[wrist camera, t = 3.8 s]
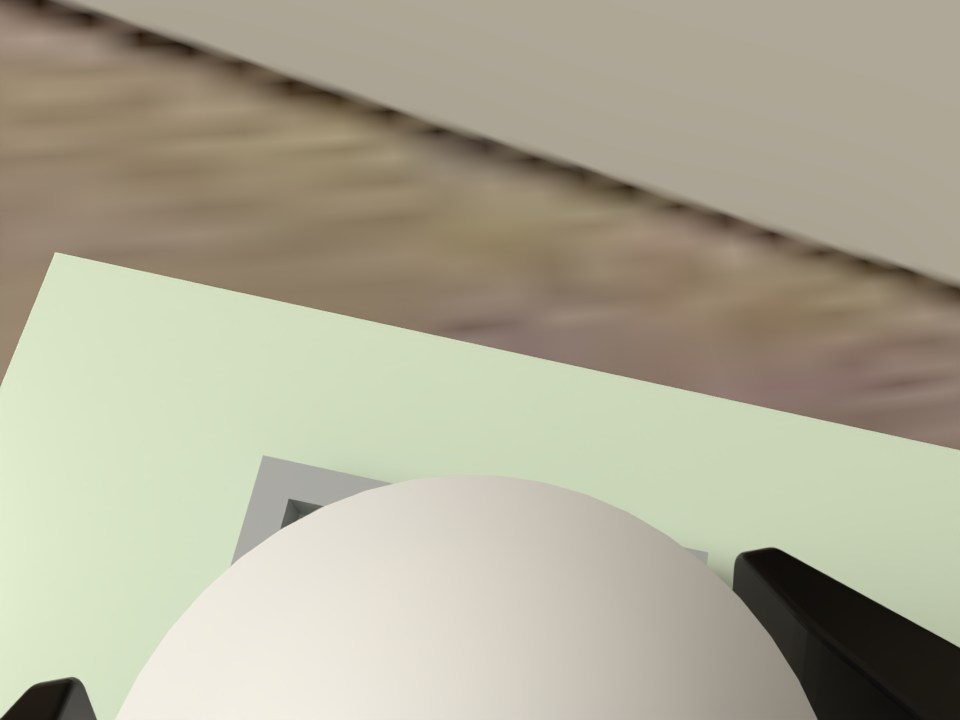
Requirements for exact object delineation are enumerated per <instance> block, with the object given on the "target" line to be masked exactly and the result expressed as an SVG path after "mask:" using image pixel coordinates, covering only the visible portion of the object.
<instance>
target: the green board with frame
mask: <svg viewBox="0 0 960 720" xmlns="http://www.w3.org/2000/svg"><path fill="white" fill-rule="evenodd" d="M450 475H484V476H505V477H511V478H518V479H524V480H531V481H538V482H544V483H548V484H551V485H555V486H558V487H562V488H565V489H569V490H572V491H576V492H579V493H583V494H586V495H589V496H591V497H594V498H596V499H598V500H601V501H603V502H605V503H607V504H610V505H612V506H614V507H617V508H619V509H621V510H624V511H626V512H628V513H630V514H632V515H634V516H635V517H637V518H639V519H641V520H642V521H644V522H646V523H647V524H649V525H651V526H652V527H654V528H656V529H657V530H659V531H661V532H663V533H664V534H666V535H668V536H669V537H671V538H672V539H673V540H674V541H676V542H677V543H678V544H680V545H681V546H682V547H684V548H685V549H686V550H688V551H689V552H690V553H691V554H693V555H694V556H695V557H697V558H698V559H699V560H701V561H702V562H703V563H704V564H706V565H707V566H708V567H709V568H710V569H711V570H712V571H713V572H714V573H715V574H716V575H717V576H718V577H719V578H720V579H721V580H722V581H723V582H724V583H725V584H726V585H727V586H728V587H729V588H730V589H731V590H732V588H733V572H734V563H735V559H736V557H737V556H738V555H739V554H740V553H742V552H745V551H750V550H756V549H761V548H767V547H775V548H778V549H780V550H782V551H784V552H786V553H788V554H790V555H792V556H793V557H795V558H797V559H799V560H801V561H803V562H804V563H806V564H808V565H810V566H812V567H814V568H815V569H817V570H819V571H821V572H823V573H825V574H826V575H828V576H830V577H832V578H834V579H835V580H837V581H839V582H841V583H843V584H845V585H846V586H848V587H850V588H852V589H854V590H856V591H857V592H859V593H861V594H863V595H865V596H867V597H868V598H870V599H872V600H874V601H876V602H878V603H879V604H881V605H883V606H885V607H887V608H889V609H890V610H892V611H894V612H896V613H898V614H900V615H901V616H903V617H905V618H907V619H909V620H911V621H912V622H914V623H916V624H918V625H920V626H922V627H923V628H925V629H927V630H929V631H931V632H933V633H934V634H936V635H938V636H940V637H942V638H944V639H945V640H947V641H949V642H951V643H953V644H955V645H956V646H958V647H960V450H955V449H951V448H946V447H942V446H937V445H933V444H928V443H924V442H919V441H914V440H910V439H905V438H901V437H896V436H892V435H887V434H882V433H878V432H873V431H869V430H864V429H860V428H855V427H851V426H846V425H841V424H837V423H832V422H828V421H823V420H819V419H814V418H809V417H805V416H800V415H796V414H791V413H787V412H782V411H778V410H773V409H768V408H764V407H759V406H755V405H750V404H746V403H741V402H736V401H732V400H727V399H723V398H718V397H714V396H709V395H705V394H700V393H695V392H691V391H686V390H682V389H677V388H673V387H668V386H663V385H659V384H654V383H650V382H645V381H641V380H636V379H632V378H627V377H622V376H618V375H613V374H609V373H604V372H600V371H595V370H590V369H586V368H581V367H577V366H572V365H568V364H563V363H559V362H554V361H549V360H545V359H540V358H536V357H531V356H527V355H522V354H517V353H513V352H508V351H504V350H499V349H495V348H490V347H485V346H481V345H476V344H472V343H467V342H463V341H458V340H454V339H449V338H444V337H440V336H435V335H431V334H426V333H422V332H417V331H412V330H408V329H403V328H399V327H394V326H390V325H385V324H381V323H376V322H371V321H367V320H362V319H358V318H353V317H349V316H344V315H339V314H335V313H330V312H326V311H321V310H317V309H312V308H308V307H303V306H298V305H294V304H289V303H285V302H280V301H276V300H271V299H266V298H262V297H257V296H253V295H248V294H244V293H239V292H235V291H230V290H225V289H221V288H216V287H212V286H207V285H203V284H198V283H193V282H189V281H184V280H180V279H175V278H171V277H166V276H162V275H157V274H152V273H148V272H143V271H139V270H134V269H130V268H125V267H120V266H116V265H111V264H107V263H102V262H98V261H93V260H89V259H84V258H79V257H75V256H70V255H66V254H61V253H57V252H55V254H54V257H53V259H52V262H51V264H50V267H49V269H48V272H47V274H46V277H45V279H44V281H43V284H42V286H41V289H40V291H39V294H38V296H37V299H36V301H35V304H34V306H33V309H32V311H31V313H30V316H29V318H28V321H27V323H26V326H25V328H24V331H23V333H22V336H21V338H20V341H19V343H18V345H17V348H16V350H15V353H14V355H13V358H12V360H11V363H10V365H9V368H8V370H7V373H6V375H5V377H4V380H3V382H2V385H1V387H0V718H1V717H2V716H3V715H4V714H5V713H6V712H7V711H8V710H9V709H10V707H11V706H12V705H13V704H14V703H15V702H16V701H17V700H18V699H19V698H20V697H21V696H22V695H23V694H24V692H25V691H26V690H28V689H29V688H30V687H31V686H33V685H34V684H37V683H40V682H45V681H50V680H56V679H61V678H66V677H76V678H78V679H80V681H81V682H82V683H83V685H84V687H85V689H86V692H87V694H88V697H89V700H90V702H91V705H92V707H93V710H94V713H95V715H96V718H97V720H115V719H116V717H117V715H118V713H119V711H120V709H121V707H122V705H123V704H124V702H125V700H126V698H127V696H128V694H129V692H130V690H131V688H132V686H133V684H134V683H135V681H136V679H137V677H138V675H139V674H140V672H141V671H142V669H143V668H144V666H145V665H146V663H147V662H148V660H149V659H150V657H151V656H152V655H153V653H154V652H155V650H156V649H157V647H158V646H159V644H160V643H161V641H162V640H163V638H164V637H165V635H166V634H167V633H168V631H169V630H170V629H171V628H172V626H173V625H174V624H175V623H176V622H177V621H178V620H179V618H180V617H181V616H182V615H183V614H184V613H185V612H186V610H187V609H188V608H189V607H190V606H191V605H192V604H193V602H194V601H195V600H196V599H197V598H198V597H199V595H200V594H201V593H202V592H203V591H204V590H205V589H206V588H207V587H209V586H210V585H211V584H212V583H213V582H214V581H215V580H216V579H217V578H219V577H220V576H221V575H222V574H223V573H224V572H225V571H226V570H227V569H228V568H230V567H231V566H232V565H233V564H234V563H235V562H236V561H237V560H238V559H240V558H241V557H242V556H244V555H245V554H246V553H248V552H249V551H251V550H252V549H254V548H255V547H256V546H258V545H259V544H261V543H262V542H263V541H265V540H266V539H268V538H269V537H271V536H272V535H273V534H275V533H276V532H278V531H279V530H281V529H282V528H284V527H286V526H288V525H290V524H292V523H294V522H296V521H297V520H299V519H301V518H303V517H305V516H307V515H309V514H311V513H312V512H314V511H316V510H318V509H320V508H322V507H324V506H327V505H329V504H332V503H335V502H337V501H340V500H342V499H345V498H348V497H350V496H353V495H356V494H358V493H361V492H363V491H366V490H370V489H374V488H378V487H383V486H387V485H391V484H395V483H399V482H403V481H407V480H413V479H422V478H431V477H441V476H450Z"/></svg>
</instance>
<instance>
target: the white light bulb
mask: <svg viewBox="0 0 960 720" xmlns="http://www.w3.org/2000/svg"><path fill="white" fill-rule="evenodd" d="M115 720H817V717H816V715H815V713H814V711H813V709H812V707H811V705H810V703H809V701H808V699H807V697H806V695H805V693H804V690H803V688H802V686H801V684H800V682H799V680H798V678H797V677H796V675H795V674H794V672H793V670H792V669H791V667H790V666H789V664H788V663H787V661H786V659H785V658H784V656H783V655H782V653H781V651H780V650H779V648H778V647H777V645H776V643H775V642H774V640H773V639H772V637H771V636H770V635H769V633H768V632H767V631H766V630H765V628H764V627H763V626H762V625H761V623H760V622H759V621H758V620H757V618H756V617H755V616H754V615H753V613H752V612H751V611H750V610H749V608H748V607H747V606H746V605H745V603H744V602H743V601H742V600H741V599H740V598H739V597H738V596H737V595H736V594H735V593H734V592H733V591H732V590H731V589H730V588H729V587H728V586H727V585H726V584H725V583H724V582H723V581H722V580H721V579H720V578H719V577H718V576H717V575H716V574H715V573H714V572H713V571H712V570H711V569H710V568H709V567H708V566H707V565H706V564H704V563H703V562H702V561H701V560H699V559H698V558H697V557H695V556H694V555H693V554H691V553H690V552H689V551H688V550H686V549H685V548H684V547H682V546H681V545H680V544H678V543H677V542H676V541H674V540H673V539H672V538H671V537H669V536H668V535H666V534H664V533H663V532H661V531H659V530H657V529H656V528H654V527H652V526H651V525H649V524H647V523H646V522H644V521H642V520H641V519H639V518H637V517H635V516H634V515H632V514H630V513H628V512H626V511H624V510H621V509H619V508H617V507H614V506H612V505H610V504H607V503H605V502H603V501H601V500H598V499H596V498H594V497H591V496H589V495H586V494H583V493H579V492H576V491H572V490H569V489H565V488H562V487H558V486H555V485H551V484H548V483H544V482H538V481H531V480H524V479H518V478H511V477H505V476H484V475H450V476H441V477H431V478H422V479H413V480H407V481H403V482H399V483H395V484H391V485H387V486H383V487H378V488H374V489H370V490H366V491H363V492H361V493H358V494H356V495H353V496H350V497H348V498H345V499H342V500H340V501H337V502H335V503H332V504H329V505H327V506H324V507H322V508H320V509H318V510H316V511H314V512H312V513H311V514H309V515H307V516H305V517H303V518H301V519H299V520H297V521H296V522H294V523H292V524H290V525H288V526H286V527H284V528H282V529H281V530H279V531H278V532H276V533H275V534H273V535H272V536H271V537H269V538H268V539H266V540H265V541H263V542H262V543H261V544H259V545H258V546H256V547H255V548H254V549H252V550H251V551H249V552H248V553H246V554H245V555H244V556H242V557H241V558H240V559H238V560H237V561H236V562H235V563H234V564H233V565H232V566H231V567H230V568H228V569H227V570H226V571H225V572H224V573H223V574H222V575H221V576H220V577H219V578H217V579H216V580H215V581H214V582H213V583H212V584H211V585H210V586H209V587H207V588H206V589H205V590H204V591H203V592H202V593H201V594H200V595H199V597H198V598H197V599H196V600H195V601H194V602H193V604H192V605H191V606H190V607H189V608H188V609H187V610H186V612H185V613H184V614H183V615H182V616H181V617H180V618H179V620H178V621H177V622H176V623H175V624H174V625H173V626H172V628H171V629H170V630H169V631H168V633H167V634H166V635H165V637H164V638H163V640H162V641H161V643H160V644H159V646H158V647H157V649H156V650H155V652H154V653H153V655H152V656H151V657H150V659H149V660H148V662H147V663H146V665H145V666H144V668H143V669H142V671H141V672H140V674H139V675H138V677H137V679H136V681H135V683H134V684H133V686H132V688H131V690H130V692H129V694H128V696H127V698H126V700H125V702H124V704H123V705H122V707H121V709H120V711H119V713H118V715H117V717H116V719H115Z"/></svg>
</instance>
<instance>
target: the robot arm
mask: <svg viewBox="0 0 960 720" xmlns="http://www.w3.org/2000/svg"><path fill="white" fill-rule="evenodd" d="M732 591H733V592H734V593H735V594H736V595H737V596H738V597H739V598H740V599H741V600H742V601H743V602H744V603H745V605H746V606H747V607H748V608H749V610H750V611H751V612H752V613H753V615H754V616H755V617H756V618H757V620H758V621H759V622H760V623H761V625H762V626H763V627H764V628H765V630H766V631H767V632H768V633H769V635H770V636H771V637H772V639H773V640H774V642H775V643H776V645H777V647H778V648H779V650H780V651H781V653H782V655H783V656H784V658H785V659H786V661H787V663H788V664H789V666H790V667H791V669H792V670H793V672H794V674H795V675H796V677H797V678H798V680H799V682H800V684H801V686H802V688H803V690H804V693H805V695H806V697H807V699H808V701H809V703H810V705H811V707H812V709H813V711H814V713H815V715H816V717H817V720H960V647H958V646H956V645H955V644H953V643H951V642H949V641H947V640H945V639H944V638H942V637H940V636H938V635H936V634H934V633H933V632H931V631H929V630H927V629H925V628H923V627H922V626H920V625H918V624H916V623H914V622H912V621H911V620H909V619H907V618H905V617H903V616H901V615H900V614H898V613H896V612H894V611H892V610H890V609H889V608H887V607H885V606H883V605H881V604H879V603H878V602H876V601H874V600H872V599H870V598H868V597H867V596H865V595H863V594H861V593H859V592H857V591H856V590H854V589H852V588H850V587H848V586H846V585H845V584H843V583H841V582H839V581H837V580H835V579H834V578H832V577H830V576H828V575H826V574H825V573H823V572H821V571H819V570H817V569H815V568H814V567H812V566H810V565H808V564H806V563H804V562H803V561H801V560H799V559H797V558H795V557H793V556H792V555H790V554H788V553H786V552H784V551H782V550H780V549H778V548H775V547H767V548H761V549H756V550H750V551H745V552H742V553H740V554H739V555H738V556H737V557H736V559H735V563H734V572H733V588H732ZM0 720H97V718H96V715H95V713H94V710H93V707H92V705H91V702H90V700H89V697H88V694H87V692H86V689H85V687H84V685H83V683H82V682H81V681H80V679H78V678H76V677H66V678H61V679H56V680H50V681H45V682H40V683H37V684H34V685H33V686H31V687H30V688H29V689H28V690H26V691H25V692H24V694H23V695H22V696H21V697H20V698H19V699H18V700H17V701H16V702H15V703H14V704H13V705H12V706H11V707H10V709H9V710H8V711H7V712H6V713H5V714H4V715H3V716H2V717H1V718H0Z"/></svg>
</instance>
